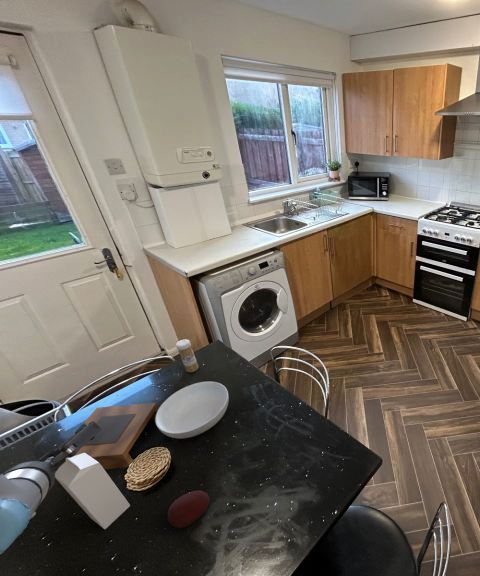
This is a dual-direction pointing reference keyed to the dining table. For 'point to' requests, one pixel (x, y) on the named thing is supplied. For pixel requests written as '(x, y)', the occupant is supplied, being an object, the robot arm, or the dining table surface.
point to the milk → (92, 489)
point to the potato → (188, 509)
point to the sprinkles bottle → (187, 355)
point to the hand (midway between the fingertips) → (51, 453)
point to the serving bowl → (192, 410)
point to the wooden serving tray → (117, 433)
